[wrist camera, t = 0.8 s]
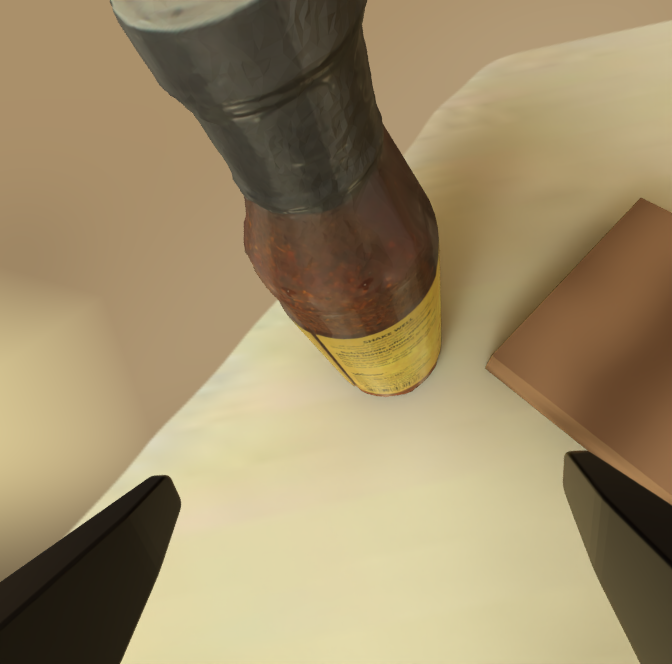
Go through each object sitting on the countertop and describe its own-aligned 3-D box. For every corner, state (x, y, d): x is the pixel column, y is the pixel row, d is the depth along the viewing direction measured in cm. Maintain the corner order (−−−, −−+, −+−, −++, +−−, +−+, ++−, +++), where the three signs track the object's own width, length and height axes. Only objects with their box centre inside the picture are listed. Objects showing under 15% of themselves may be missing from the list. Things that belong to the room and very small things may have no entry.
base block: (863, 355, 18) (924, 338, 16) (707, 546, 17) (750, 556, 15) (619, 225, 23) (640, 197, 21) (485, 368, 22) (491, 355, 20)
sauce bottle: (458, 329, 23) (570, -212, 5) (407, 421, 22) (313, 146, 4) (364, 286, 26) (210, -188, 7) (314, 367, 24) (-19, 38, 6)
